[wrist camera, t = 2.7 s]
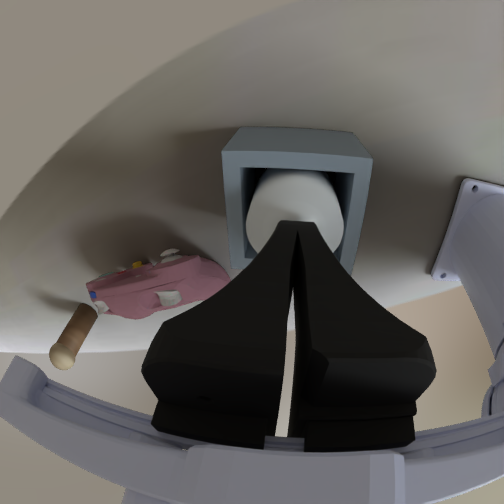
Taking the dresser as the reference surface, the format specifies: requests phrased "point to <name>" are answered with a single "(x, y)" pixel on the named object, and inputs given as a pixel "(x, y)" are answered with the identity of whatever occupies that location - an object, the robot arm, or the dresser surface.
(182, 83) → the dresser surface
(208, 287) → the video game controller
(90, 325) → the post
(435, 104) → the dresser surface
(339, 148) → the hollow square tube
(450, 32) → the dresser surface
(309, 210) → the dome
